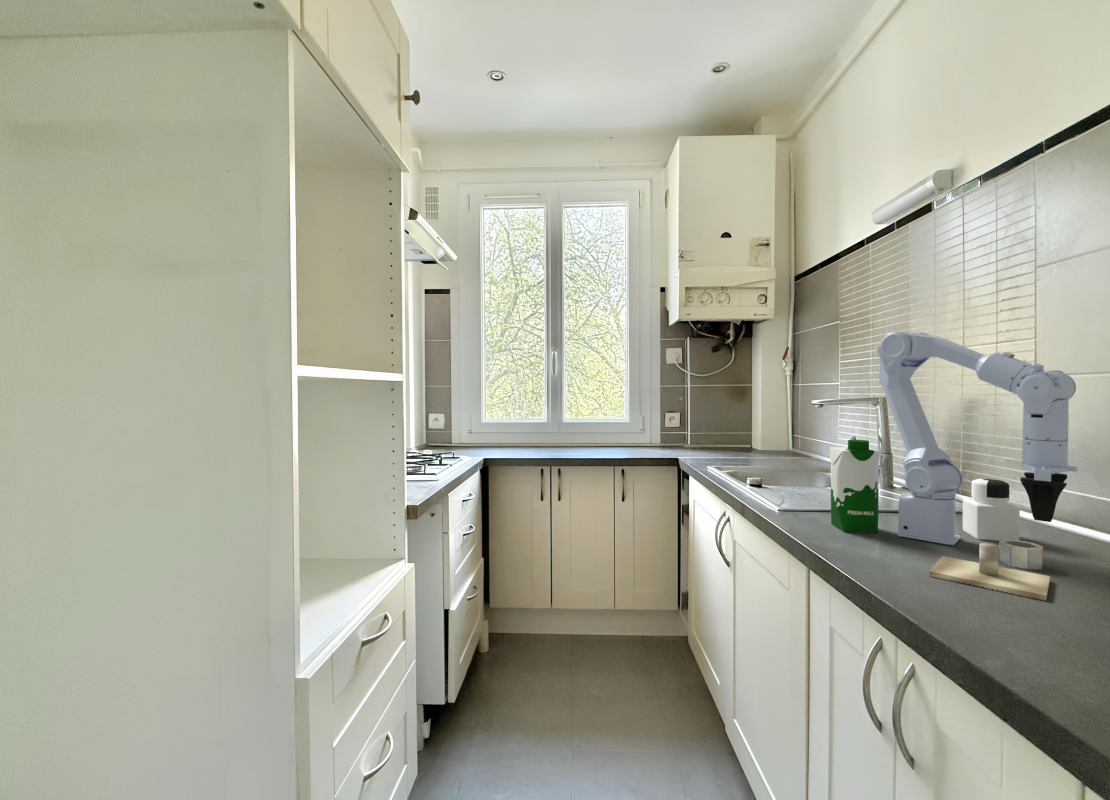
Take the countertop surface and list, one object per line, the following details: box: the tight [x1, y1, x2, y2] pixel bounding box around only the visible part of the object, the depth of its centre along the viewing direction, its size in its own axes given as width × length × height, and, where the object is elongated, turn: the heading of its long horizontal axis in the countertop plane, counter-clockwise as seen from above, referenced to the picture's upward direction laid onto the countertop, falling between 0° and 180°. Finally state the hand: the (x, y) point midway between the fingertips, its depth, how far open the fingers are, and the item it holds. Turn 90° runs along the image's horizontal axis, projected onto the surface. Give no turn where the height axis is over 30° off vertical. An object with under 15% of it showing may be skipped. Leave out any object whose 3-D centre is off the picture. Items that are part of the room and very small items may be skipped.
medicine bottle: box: [962, 478, 1021, 542], centre depth 106 cm, size 7×7×12 cm
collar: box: [998, 539, 1044, 571], centre depth 89 cm, size 6×6×4 cm
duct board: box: [928, 542, 1051, 602], centre depth 83 cm, size 14×11×6 cm
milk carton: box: [829, 439, 881, 534], centre depth 113 cm, size 9×9×20 cm
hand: (1043, 516), depth 88 cm, fingers open, 7 cm apart
